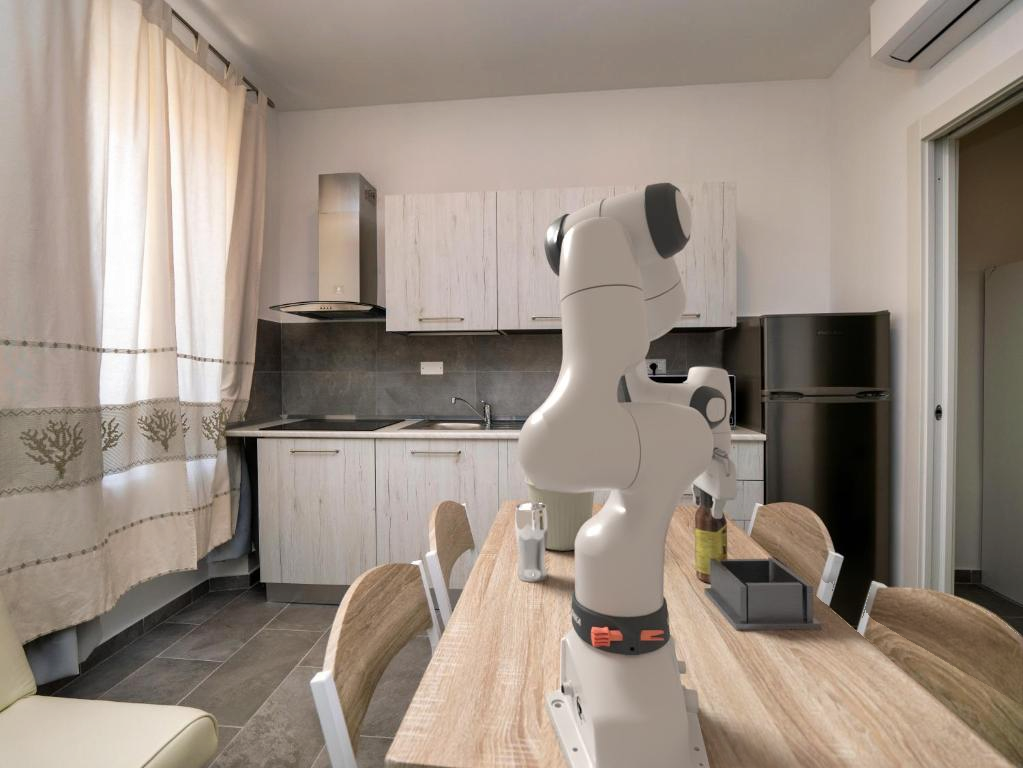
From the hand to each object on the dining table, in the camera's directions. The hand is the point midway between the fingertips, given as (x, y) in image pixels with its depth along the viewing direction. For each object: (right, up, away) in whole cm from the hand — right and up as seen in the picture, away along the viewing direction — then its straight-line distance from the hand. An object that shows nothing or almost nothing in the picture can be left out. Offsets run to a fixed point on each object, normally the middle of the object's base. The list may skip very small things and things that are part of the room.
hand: (707, 510), depth 105 cm
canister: (-28, -14, +22) cm, 38 cm away
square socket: (+3, -14, -14) cm, 21 cm away
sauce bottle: (+1, -14, 0) cm, 14 cm away
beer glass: (-36, -15, +2) cm, 39 cm away
